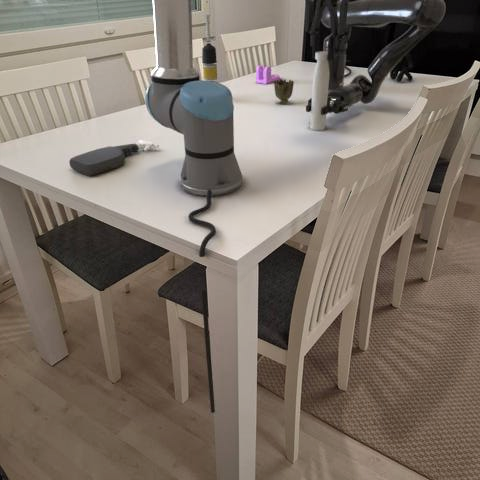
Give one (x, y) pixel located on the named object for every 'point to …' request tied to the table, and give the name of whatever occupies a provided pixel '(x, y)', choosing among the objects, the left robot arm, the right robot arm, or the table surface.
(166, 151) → the table surface
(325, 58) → the cap
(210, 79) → the yellow black flask
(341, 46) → the right robot arm
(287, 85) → the cup
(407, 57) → the squiggle
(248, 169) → the table surface
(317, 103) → the bottle
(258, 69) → the bracket
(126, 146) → the spray bottle
